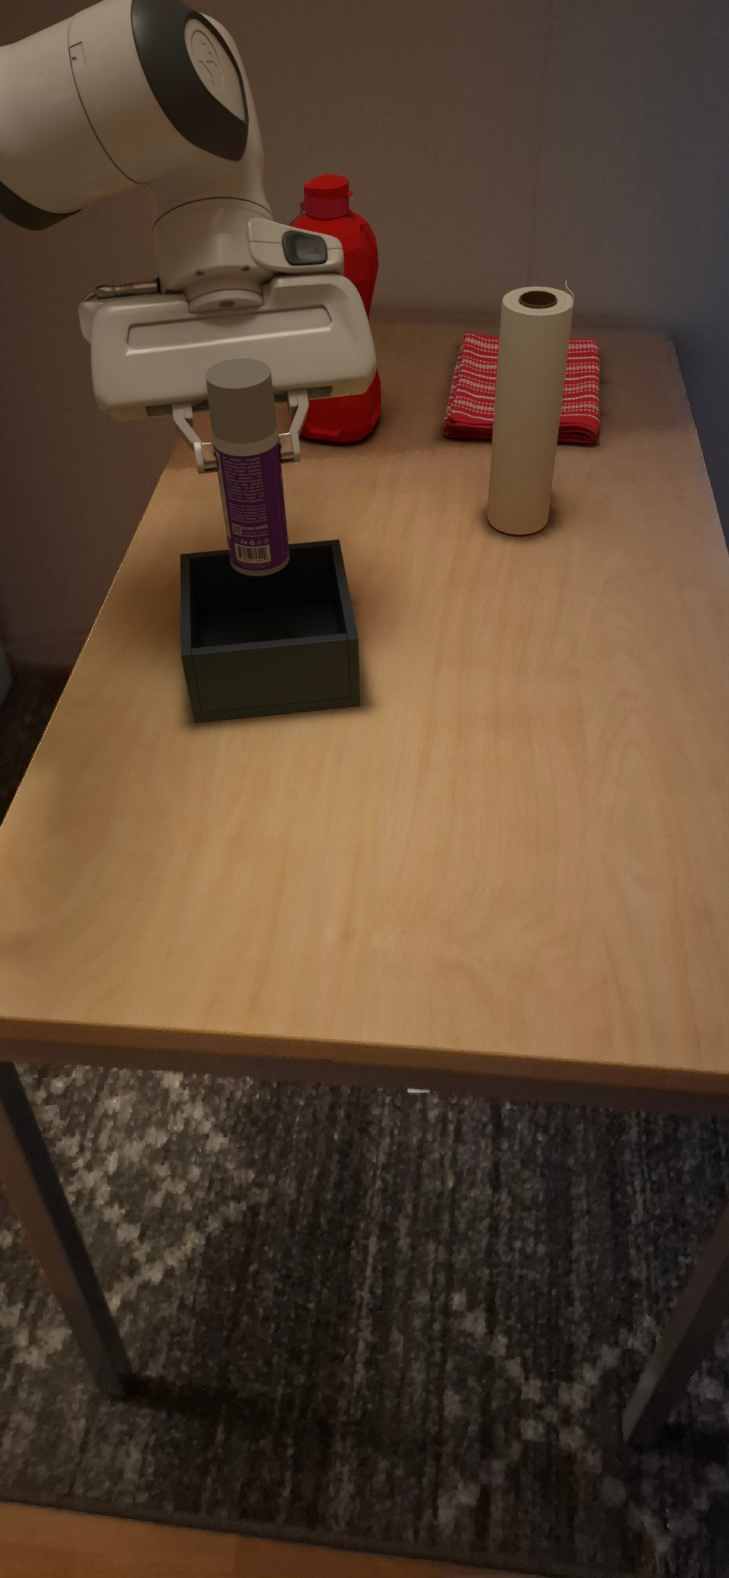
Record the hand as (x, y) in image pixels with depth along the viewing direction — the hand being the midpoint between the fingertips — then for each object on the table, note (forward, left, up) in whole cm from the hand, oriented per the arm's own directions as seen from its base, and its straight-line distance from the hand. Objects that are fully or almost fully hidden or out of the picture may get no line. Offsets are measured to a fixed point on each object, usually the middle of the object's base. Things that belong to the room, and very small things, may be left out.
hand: (250, 466), depth 75 cm
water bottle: (+9, +41, -19) cm, 46 cm away
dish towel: (+32, +44, -19) cm, 57 cm away
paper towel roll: (+26, +19, -19) cm, 37 cm away
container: (0, +1, -9) cm, 9 cm away
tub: (0, +1, -19) cm, 19 cm away
